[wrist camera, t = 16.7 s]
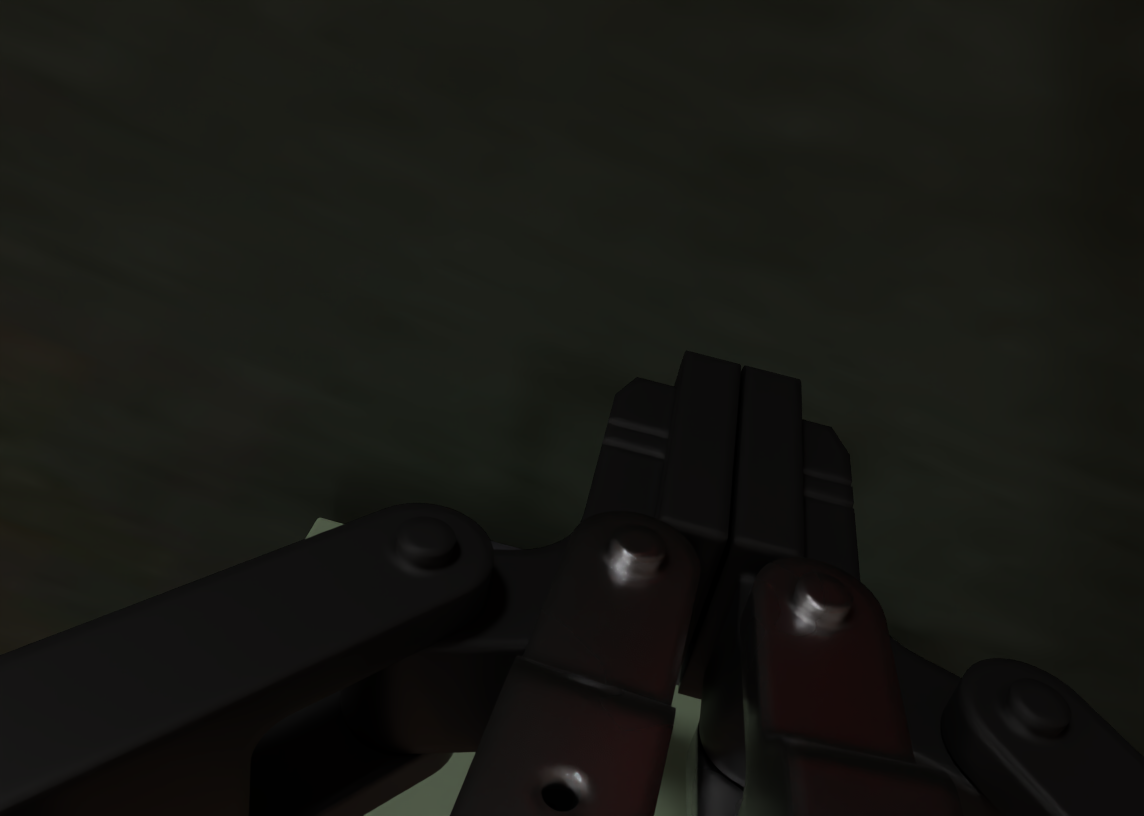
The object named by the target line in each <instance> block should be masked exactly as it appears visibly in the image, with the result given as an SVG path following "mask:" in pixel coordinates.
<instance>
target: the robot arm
mask: <svg viewBox="0 0 1144 816" xmlns="http://www.w3.org/2000/svg"><path fill="white" fill-rule="evenodd" d="M851 483H852V477H851V465H850V455H849V453H848V451H847V450H846V448H845V447H844V445H843V444H842V442H841V441H840V439H839V438H838V436H837V435H836V433H835V432H834V430H833V429H832V427H829V426H825V425H821V424H817V423H813V422H810V421H806V420H802V395H801V380H800V379H796V378H792V377H788V376H784V375H780V374H777V373H773V372H769V371H765V370H761V369H757V368H753V367H749V366H744V367H743V369H742V371H741V365H740V364H737V363H733V362H729V361H725V360H721V359H717V358H714V357H710V356H706V355H702V354H698V353H694V352H690V351H685V354H684V356H683V359H682V362H681V365H680V369H679V372H678V376H677V379H676V382H675V386H674V387H673V386H669V385H666V384H662V383H658V382H654V381H650V380H646V379H642V378H638V377H637V378H635V379H634V380H633V381H632V382H630V383H629V384H628V385H627V386H625V387H624V388H623V389H622V390H620V391H619V392H618V393H617V394H615V398H614V402H613V406H612V409H611V413H610V417H609V421H608V425H607V428H606V432H605V436H604V440H603V443H602V447H601V451H600V455H599V459H598V462H597V466H596V470H595V474H594V477H593V481H592V485H591V489H590V493H589V496H588V500H587V504H586V508H585V512H584V515H583V518H582V520H581V523H580V524H579V525H578V526H577V527H576V528H575V529H574V531H573V532H572V533H571V534H570V535H569V536H568V537H566V538H564V539H563V540H561V541H559V542H557V543H554V544H552V545H549V546H545V547H541V548H535V549H527V550H502V549H493V546H492V543H491V540H490V539H489V537H488V535H487V534H486V532H485V531H484V530H483V529H482V528H481V527H480V526H479V525H478V524H477V523H476V522H475V521H473V520H472V519H471V518H469V517H467V516H466V515H464V514H462V513H460V512H458V511H455V510H453V509H450V508H447V507H443V506H439V505H434V504H426V503H406V504H400V505H395V506H392V507H388V508H385V509H382V510H380V511H377V512H374V513H372V514H369V515H367V516H364V517H361V518H359V519H356V520H353V521H351V522H348V523H346V524H343V525H340V526H338V527H335V528H332V529H330V530H327V531H325V532H322V533H319V534H317V535H314V536H312V537H309V538H306V539H304V540H301V541H298V542H296V543H293V544H291V545H288V546H285V547H283V548H280V549H277V550H275V551H272V552H270V553H267V554H264V555H262V556H259V557H257V558H254V559H251V560H249V561H246V562H243V563H241V564H238V565H236V566H233V567H230V568H228V569H225V570H222V571H220V572H217V573H215V574H212V575H209V576H207V577H204V578H201V579H199V580H196V581H194V582H191V583H188V584H186V585H183V586H181V587H178V588H175V589H173V590H170V591H167V592H165V593H162V594H160V595H157V596H154V597H152V598H149V599H146V600H144V601H141V602H139V603H136V604H133V605H131V606H128V607H126V608H123V609H120V610H118V611H115V612H112V613H110V614H107V615H105V616H102V617H99V618H97V619H94V620H91V621H89V622H86V623H84V624H81V625H78V626H76V627H73V628H71V629H68V630H65V631H63V632H60V633H57V634H55V635H52V636H50V637H47V638H44V639H42V640H39V641H36V642H34V643H31V644H29V645H26V646H23V647H21V648H18V649H15V650H13V651H10V652H8V653H5V654H2V655H0V816H363V815H365V814H367V813H369V812H370V811H372V810H374V809H375V808H377V807H379V806H380V805H382V804H384V803H386V802H387V801H389V800H391V799H392V798H394V797H396V796H397V795H399V794H401V793H402V792H404V791H406V790H408V789H409V788H411V787H413V786H414V785H416V784H418V783H419V782H421V781H423V780H425V779H426V778H428V777H430V776H431V775H433V774H434V773H436V772H437V771H439V770H440V769H441V768H442V767H443V766H444V765H445V764H446V763H447V762H448V761H449V760H450V758H451V757H452V755H453V753H462V752H476V753H475V755H474V757H473V760H472V762H471V765H470V767H469V770H468V772H467V775H466V777H465V779H464V782H463V784H462V787H461V789H460V792H459V794H458V797H457V799H456V801H455V804H454V806H453V809H452V811H451V814H450V816H654V814H655V809H656V805H657V800H658V795H659V791H660V786H661V782H662V777H663V772H664V768H665V763H666V759H667V754H668V749H669V745H670V740H671V735H672V731H673V726H674V720H675V714H676V708H675V707H672V706H671V705H672V700H673V696H674V691H675V687H676V682H677V678H678V674H679V671H680V679H679V687H678V694H682V695H686V696H690V697H693V698H697V699H701V710H700V720H699V723H698V725H697V728H696V730H695V733H694V735H693V738H692V740H691V743H690V746H689V748H688V751H687V759H686V816H1144V757H1143V756H1142V755H1141V754H1140V753H1139V752H1137V751H1136V750H1135V749H1134V748H1133V747H1132V746H1131V745H1130V744H1129V743H1128V742H1127V741H1126V740H1125V739H1124V738H1123V737H1122V736H1121V735H1120V734H1119V733H1118V732H1117V731H1116V730H1115V729H1114V728H1113V727H1111V726H1110V725H1109V724H1108V723H1107V722H1106V721H1105V720H1104V719H1103V718H1102V717H1101V716H1100V715H1099V714H1098V713H1097V712H1096V711H1095V710H1094V709H1093V708H1092V707H1091V706H1090V705H1089V704H1088V703H1087V702H1085V701H1084V700H1083V699H1082V698H1081V697H1080V696H1079V695H1078V694H1077V693H1076V692H1075V691H1074V690H1072V689H1071V688H1070V687H1069V686H1068V685H1066V684H1065V683H1063V682H1062V681H1061V680H1059V679H1058V678H1056V677H1054V676H1053V675H1051V674H1049V673H1048V672H1046V671H1044V670H1041V669H1039V668H1037V667H1035V666H1032V665H1030V664H1027V663H1024V662H1020V661H1016V660H1012V659H1003V658H993V659H986V660H982V661H979V662H977V663H975V664H973V665H972V666H971V667H970V668H969V669H967V671H966V673H965V674H964V676H963V678H960V677H958V676H956V675H955V674H953V673H951V672H949V671H947V670H945V669H943V668H941V667H939V666H937V665H935V664H933V663H931V662H929V661H927V660H925V659H924V658H922V657H920V656H918V655H916V654H915V653H913V652H911V651H909V650H908V649H906V648H905V647H903V646H902V645H901V644H899V643H898V642H897V641H895V640H894V639H893V638H892V637H891V636H889V632H888V628H887V623H886V618H885V615H884V612H883V609H882V607H881V605H880V603H879V602H878V600H877V599H876V598H875V596H874V595H873V593H872V592H871V591H870V590H869V589H868V588H867V587H866V586H865V585H864V584H862V583H861V582H860V573H859V561H858V549H857V537H856V525H855V513H854V509H853V504H854V501H853V489H852V487H851ZM680 669H681V670H680Z"/></svg>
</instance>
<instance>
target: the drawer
mask: <svg viewBox="0 0 1144 816" xmlns="http://www.w3.org/2000/svg"><path fill="white" fill-rule="evenodd" d="M340 525H343V524H342V523H338V522H334V521H331V520H327V519H323V518H318V519H317V520H316V522H315V523H314V525H313V527H312V528H311V530H310V532H309V533H308V535H307V537H306V538H309V537H312V536H314V535H317V534H319V533H322V532H325V531H327V530H330V529H332V528H335V527H338V526H340ZM306 538H305V539H306ZM491 543H492V546H493V549H502V550H523V549H520V548H516V547H512V546H508V545H505V544H501V543H497V542H493V541H491ZM680 670H681V669H680ZM679 679H680V671H679V674H678V678H677V682H676V687H675V691H674V696H673V700H672V705H671V706H672V707H675V708H676V714H675V720H674V726H673V731H672V735H671V740H670V745H669V749H668V754H667V759H666V763H665V768H664V772H663V777H662V782H661V786H660V791H659V795H658V800H657V805H656V809H655V814H654V816H686V759H687V751H688V748H689V746H690V743H691V740H692V738H693V735H694V733H695V730H696V728H697V725H698V723H699V720H700V710H701V699H697V698H693V697H690V696H686V695H682V694H678V687H679ZM475 753H476V752H462V753H453V755H452V757H451V758H450V760H449V761H448V762H447V763H446V764H445V765H444V766H443V767H442V768H441V769H440V770H439V771H437V772H436V773H434V774H433V775H431V776H430V777H428V778H426V779H425V780H423V781H421V782H419V783H418V784H416V785H414V786H413V787H411V788H409V789H408V790H406V791H404V792H402V793H401V794H399V795H397V796H396V797H394V798H392V799H391V800H389V801H387V802H386V803H384V804H382V805H380V806H379V807H377V808H375V809H374V810H372V811H370V812H369V813H367V814H365V815H363V816H450V814H451V811H452V809H453V806H454V804H455V801H456V799H457V797H458V794H459V792H460V789H461V787H462V784H463V782H464V779H465V777H466V775H467V772H468V770H469V767H470V765H471V762H472V760H473V757H474V755H475Z"/></svg>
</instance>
